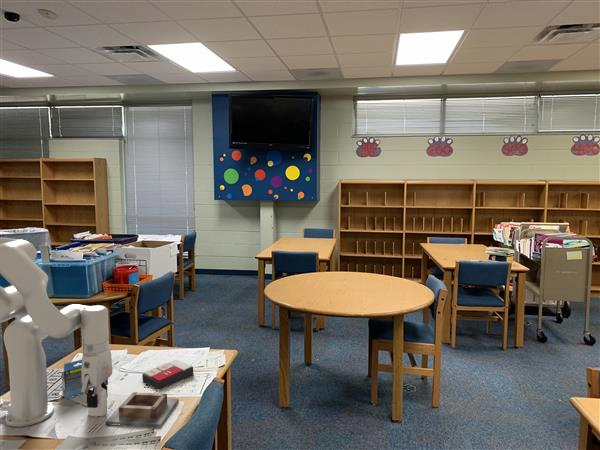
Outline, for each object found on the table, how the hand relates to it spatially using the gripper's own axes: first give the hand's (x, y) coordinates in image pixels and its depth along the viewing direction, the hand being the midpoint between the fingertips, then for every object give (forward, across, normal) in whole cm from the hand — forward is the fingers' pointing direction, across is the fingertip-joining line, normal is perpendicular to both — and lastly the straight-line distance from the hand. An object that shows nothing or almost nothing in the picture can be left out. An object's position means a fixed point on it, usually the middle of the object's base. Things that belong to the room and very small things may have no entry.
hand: (97, 401), depth 129 cm
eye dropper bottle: (+4, 0, 0) cm, 4 cm away
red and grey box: (+4, +26, -12) cm, 29 cm away
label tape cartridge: (+4, +12, +14) cm, 19 cm away
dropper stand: (+4, +2, -14) cm, 15 cm away
